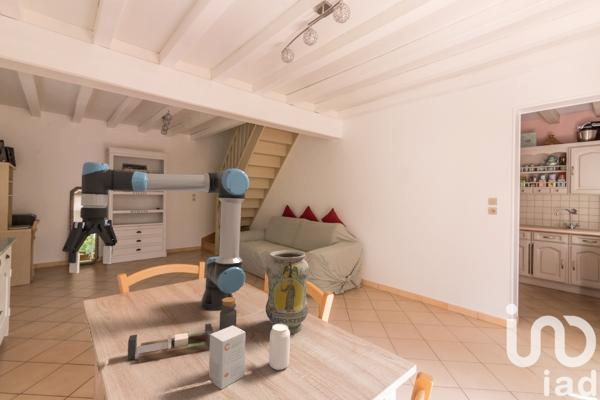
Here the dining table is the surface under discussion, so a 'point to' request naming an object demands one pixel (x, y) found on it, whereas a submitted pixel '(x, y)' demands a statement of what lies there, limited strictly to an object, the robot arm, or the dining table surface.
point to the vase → (287, 289)
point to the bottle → (228, 313)
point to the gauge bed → (195, 345)
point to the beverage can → (279, 346)
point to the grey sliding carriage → (145, 347)
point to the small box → (227, 356)
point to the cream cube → (181, 340)
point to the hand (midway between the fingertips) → (91, 267)
